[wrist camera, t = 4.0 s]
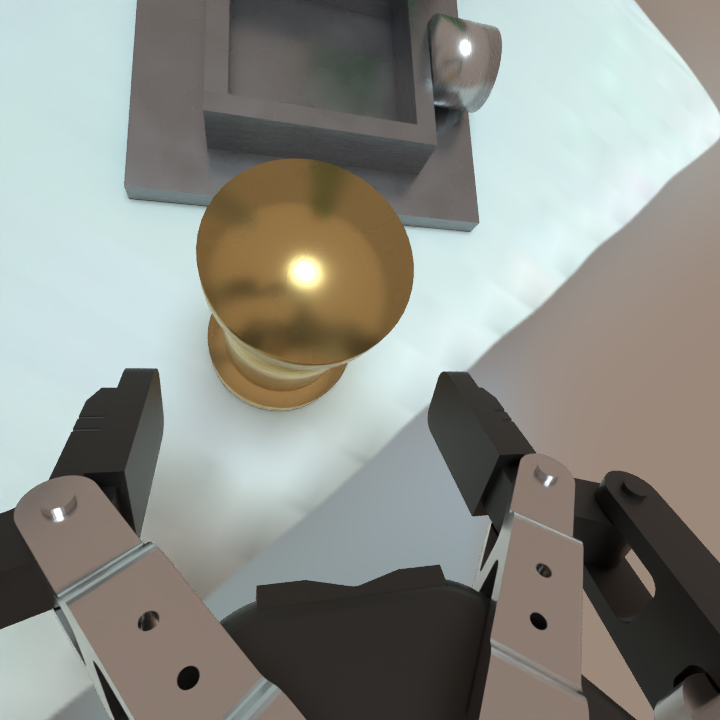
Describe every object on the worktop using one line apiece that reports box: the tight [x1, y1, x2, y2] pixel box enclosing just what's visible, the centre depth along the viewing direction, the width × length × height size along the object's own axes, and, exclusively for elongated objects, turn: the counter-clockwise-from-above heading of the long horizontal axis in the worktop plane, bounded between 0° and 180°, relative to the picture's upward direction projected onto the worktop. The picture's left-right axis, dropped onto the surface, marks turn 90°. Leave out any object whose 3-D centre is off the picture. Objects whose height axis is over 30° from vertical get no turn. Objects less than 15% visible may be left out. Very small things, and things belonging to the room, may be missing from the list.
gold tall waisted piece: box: [196, 158, 414, 411], centre depth 17 cm, size 6×6×10 cm
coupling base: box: [124, 0, 502, 231], centre depth 22 cm, size 18×16×5 cm
